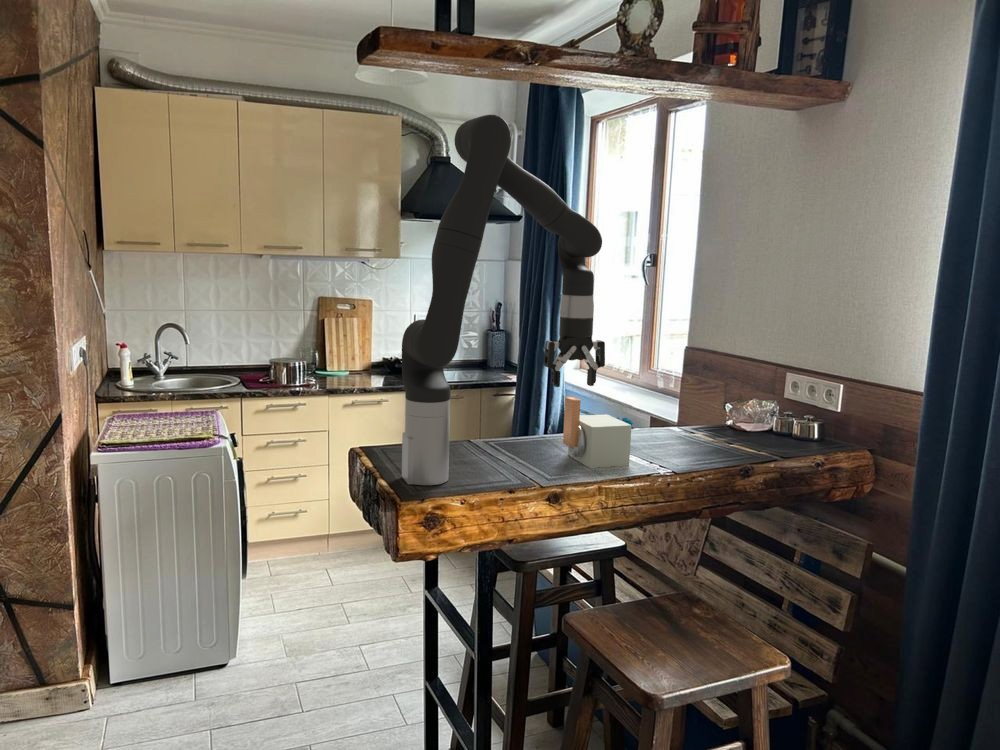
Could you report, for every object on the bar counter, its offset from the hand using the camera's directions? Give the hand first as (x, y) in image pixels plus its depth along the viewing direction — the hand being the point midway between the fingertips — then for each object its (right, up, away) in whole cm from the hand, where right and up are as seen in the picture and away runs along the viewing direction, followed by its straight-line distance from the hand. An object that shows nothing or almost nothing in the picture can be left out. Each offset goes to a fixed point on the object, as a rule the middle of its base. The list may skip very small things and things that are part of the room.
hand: (573, 386), depth 170 cm
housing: (+6, -18, +5) cm, 19 cm away
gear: (+12, -15, +22) cm, 29 cm away
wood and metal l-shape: (+3, -16, +4) cm, 17 cm away
